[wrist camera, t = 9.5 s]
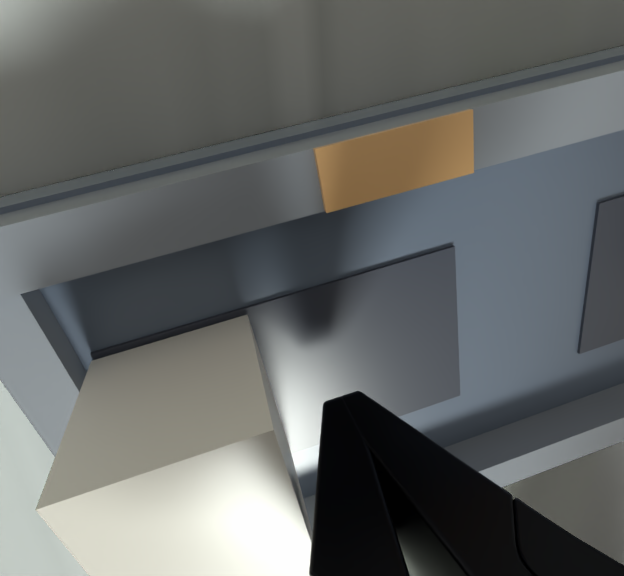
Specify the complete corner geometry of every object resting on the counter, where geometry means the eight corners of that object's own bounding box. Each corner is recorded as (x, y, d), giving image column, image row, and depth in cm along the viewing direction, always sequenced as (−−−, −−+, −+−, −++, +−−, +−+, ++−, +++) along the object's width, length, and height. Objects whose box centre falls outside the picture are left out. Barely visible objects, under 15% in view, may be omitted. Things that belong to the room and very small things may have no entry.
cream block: (291, 453, 10) (327, 590, 7) (166, 496, 10) (156, 658, 7) (247, 314, 8) (273, 430, 6) (90, 361, 8) (35, 509, 5)
